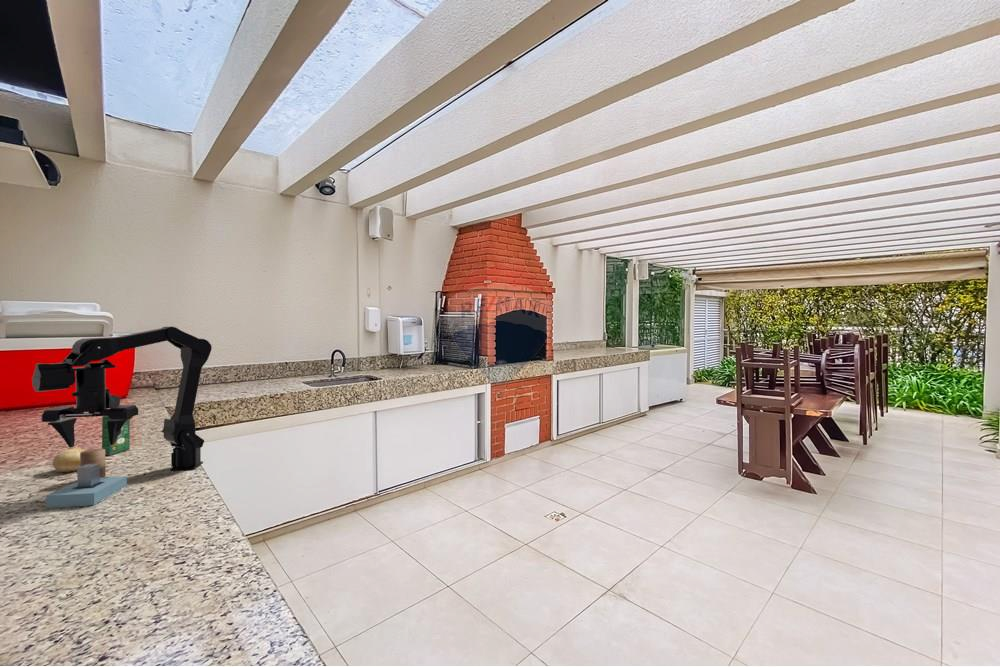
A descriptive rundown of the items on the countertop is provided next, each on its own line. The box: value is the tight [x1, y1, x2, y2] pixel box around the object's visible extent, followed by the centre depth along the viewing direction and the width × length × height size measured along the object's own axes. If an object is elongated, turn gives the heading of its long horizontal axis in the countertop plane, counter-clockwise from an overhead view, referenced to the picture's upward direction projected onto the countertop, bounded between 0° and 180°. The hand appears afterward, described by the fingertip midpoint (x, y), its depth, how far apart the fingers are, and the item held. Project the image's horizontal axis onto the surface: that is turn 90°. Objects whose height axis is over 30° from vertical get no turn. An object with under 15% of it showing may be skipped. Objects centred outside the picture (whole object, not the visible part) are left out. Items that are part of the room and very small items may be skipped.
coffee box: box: [101, 416, 131, 456], centre depth 149 cm, size 8×3×13 cm, turn 178°
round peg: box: [80, 448, 107, 477], centre depth 124 cm, size 5×5×8 cm
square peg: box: [76, 464, 100, 489], centre depth 112 cm, size 3×3×8 cm
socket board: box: [45, 475, 128, 509], centre depth 112 cm, size 10×12×3 cm
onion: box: [52, 445, 85, 473], centre depth 132 cm, size 8×8×7 cm
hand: (92, 445), depth 116 cm, fingers open, 9 cm apart
